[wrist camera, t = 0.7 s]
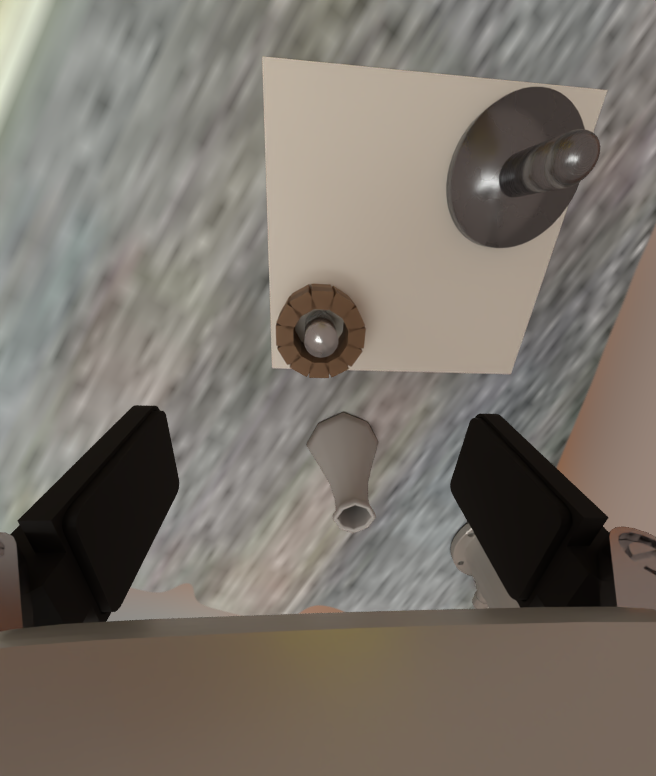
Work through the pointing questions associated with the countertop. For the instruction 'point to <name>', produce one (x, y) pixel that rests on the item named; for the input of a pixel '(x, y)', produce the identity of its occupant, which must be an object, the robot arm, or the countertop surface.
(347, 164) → the board
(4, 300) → the countertop surface
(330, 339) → the grey capsule
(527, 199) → the hub
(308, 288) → the walnut ring
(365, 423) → the flask
